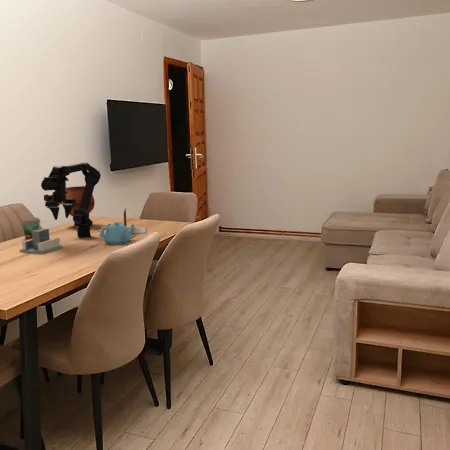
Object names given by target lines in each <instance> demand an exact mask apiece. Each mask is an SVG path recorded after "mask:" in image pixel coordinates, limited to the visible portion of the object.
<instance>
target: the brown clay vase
mask: <svg viewBox="0 0 450 450" xmlns="http://www.w3.org/2000/svg"><path fill="white" fill-rule="evenodd" d="M84 189H85V185H81V186H68V187H67V186H66V191H68V193H66V199H75V200H76V204H72V205H74V206H73V208H72V210H71V212H70V214H69V216H71V217H73V214H74V210H75V209H78V208H79V206H80V203H81V199H82V196H83V192H84ZM95 204H96V203H95V198H94V195H93V194H92V197H91V201H90V204H89V208H88V211H89V214H90V213H92V211H93V210H94V208H95ZM63 205H64V204H62V206H63ZM63 209H64V210H65V208H64V207H63ZM73 228H76V229H77V228H78V226H75V223H74V224H73Z"/></svg>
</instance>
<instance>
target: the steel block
mask: <svg viewBox="0 0 450 450" xmlns="http://www.w3.org/2000/svg"><path fill="white" fill-rule="evenodd" d="M31 239H32V241H33V249H38V243H40V242H43V241H47V240H50V239H51V238H50V229H49V228H39V229H38V230H34V231H32V238H31Z"/></svg>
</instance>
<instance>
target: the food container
mask: <svg viewBox="0 0 450 450" xmlns="http://www.w3.org/2000/svg"><path fill="white" fill-rule="evenodd" d="M40 223H41V220H40V218H38V217H34V219H28V220H22V225H23V226H22V227H23V232H24V238H25V239H32V231H34V230H38V229H40Z"/></svg>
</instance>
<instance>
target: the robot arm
mask: <svg viewBox="0 0 450 450" xmlns="http://www.w3.org/2000/svg"><path fill="white" fill-rule="evenodd" d="M77 172H81V174H82V175H83V176H84V183H85V185H84V186H85V189H84V192H83V196H82V199H81V203H80V206H79V208H78V209H75V210H74V214H73V216H72V220H73V221H72V222H73V223H74V224H75V226H78V228H76V235H77V237H78V238H80V239H81V238H90V237H92V235H91V227H92V226H93V222H94V221H93V220H92V219H90V213H89V211H88V208H89V204H90V201H91V197H92V195H93V193H94V189H95V186H96V185H98V183H99V181H100V179H101V177H102V176H101V174H102V173H101V172H100V171H99V170H98V169H97V168H96V167H94V166H91V163H88V162H80V163H75V164H70V165H54V166H53V167H52V169H51V171H50V173H49V175H48V177H47V176H45V177H43V180H42V181H41V183H40V186H41V188H42V191H52V194H51V195H49V194H44V195H43V200H44V201H45V202H44V205H45V206H44V207H46V208H47V209H49V210H50V212H51V214H52V216H53V218H54V221H57V220H58V218H59V213H60V205H62V207H63V209H64V208H65V209H64V216H65V219H68V218H69V216H70V212H71V210H72V208H73V206H74V205H72V204H76V200H75V199H66V193H68V191H66V188H67V182H69V181H70V180H69V178H68V176H70V174H72V173H73V174H74V173H77ZM63 204H64V205H63Z"/></svg>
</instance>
